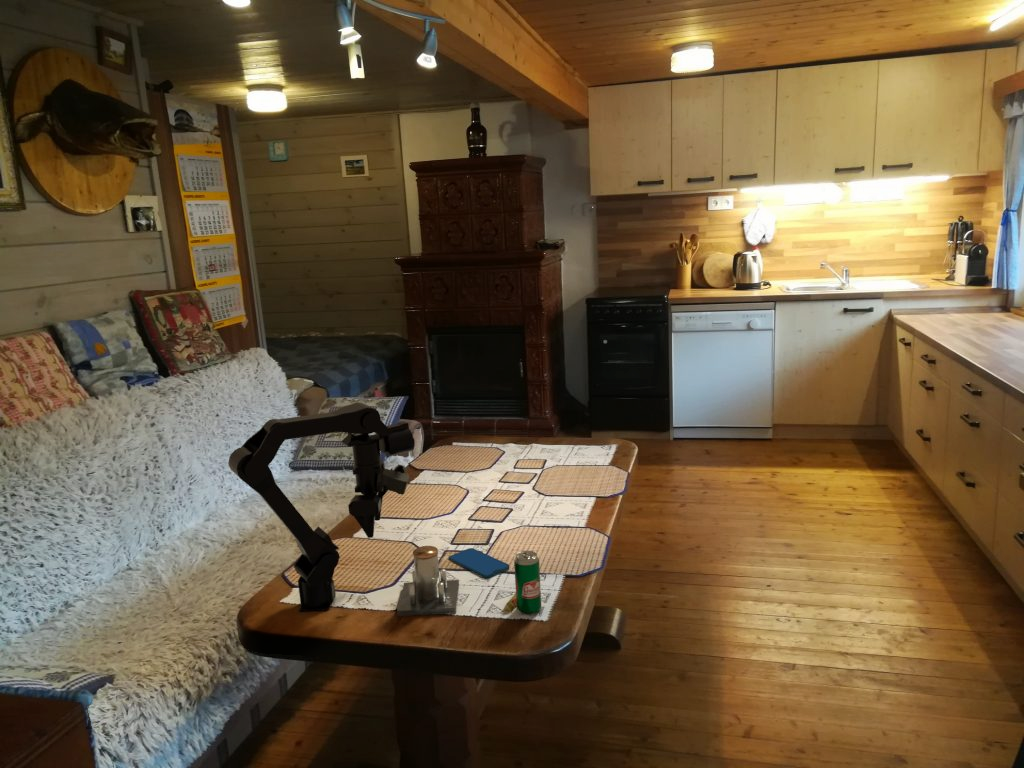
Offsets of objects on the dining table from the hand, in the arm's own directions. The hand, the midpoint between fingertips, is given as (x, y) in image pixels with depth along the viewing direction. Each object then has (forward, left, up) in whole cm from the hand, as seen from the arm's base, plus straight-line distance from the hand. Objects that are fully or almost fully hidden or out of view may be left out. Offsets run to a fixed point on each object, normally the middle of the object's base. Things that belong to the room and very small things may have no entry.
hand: (374, 528), depth 167 cm
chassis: (+12, -9, -13) cm, 20 cm away
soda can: (+33, -15, -13) cm, 39 cm away
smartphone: (+22, +7, -14) cm, 27 cm away
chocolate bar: (+31, -10, -14) cm, 35 cm away
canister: (+12, -9, -12) cm, 19 cm away
